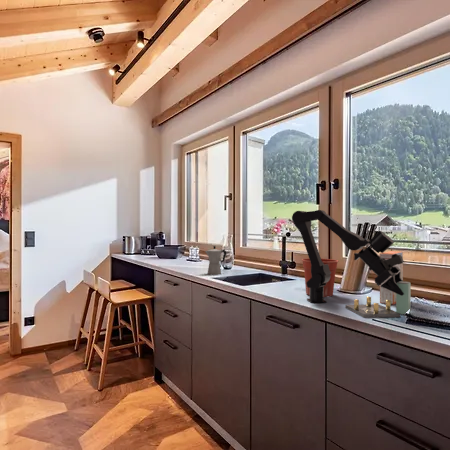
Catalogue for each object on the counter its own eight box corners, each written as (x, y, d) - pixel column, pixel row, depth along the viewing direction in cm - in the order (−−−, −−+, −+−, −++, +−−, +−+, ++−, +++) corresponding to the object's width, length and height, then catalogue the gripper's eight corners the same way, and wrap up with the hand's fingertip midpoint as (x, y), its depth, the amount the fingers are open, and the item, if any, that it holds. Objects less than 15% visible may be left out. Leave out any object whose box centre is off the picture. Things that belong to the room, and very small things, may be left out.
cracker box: (388, 298, 164) (389, 250, 164) (403, 299, 160) (403, 251, 160) (378, 303, 153) (378, 252, 153) (393, 305, 149) (394, 253, 149)
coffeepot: (208, 275, 233) (208, 246, 233) (202, 273, 241) (202, 245, 241) (229, 273, 240) (229, 246, 240) (222, 272, 249) (223, 245, 249)
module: (396, 313, 135) (396, 282, 135) (398, 310, 139) (398, 281, 139) (408, 315, 133) (408, 283, 133) (410, 312, 137) (410, 281, 137)
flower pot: (337, 292, 177) (338, 258, 177) (338, 299, 161) (339, 262, 161) (302, 290, 181) (302, 257, 181) (300, 296, 165) (300, 260, 165)
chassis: (345, 307, 144) (345, 295, 144) (378, 307, 145) (378, 295, 145) (363, 317, 129) (363, 304, 129) (400, 316, 130) (400, 303, 130)
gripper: (384, 248, 131) (419, 282, 125) (394, 245, 146) (426, 275, 140) (361, 268, 136) (393, 302, 129) (373, 264, 151) (403, 294, 145)
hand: (405, 292), depth 136 cm, fingers open, 9 cm apart
